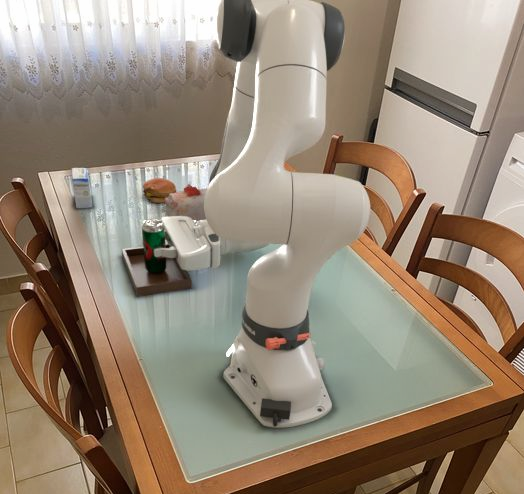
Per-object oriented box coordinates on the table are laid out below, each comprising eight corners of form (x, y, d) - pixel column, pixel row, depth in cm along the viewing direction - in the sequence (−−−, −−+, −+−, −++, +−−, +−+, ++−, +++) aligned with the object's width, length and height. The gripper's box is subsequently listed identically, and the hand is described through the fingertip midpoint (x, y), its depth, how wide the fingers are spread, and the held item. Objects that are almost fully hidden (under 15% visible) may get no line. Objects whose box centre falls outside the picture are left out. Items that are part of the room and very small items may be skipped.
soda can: (162, 276, 125) (159, 230, 117) (141, 272, 125) (137, 226, 118) (169, 265, 129) (167, 220, 121) (149, 261, 129) (146, 216, 121)
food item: (173, 230, 144) (172, 196, 138) (164, 217, 149) (162, 184, 143) (220, 223, 149) (221, 189, 143) (209, 211, 155) (209, 178, 148)
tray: (191, 288, 123) (191, 279, 122) (137, 296, 119) (136, 287, 118) (172, 251, 135) (171, 242, 134) (122, 257, 131) (121, 249, 130)
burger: (178, 191, 163) (178, 176, 160) (173, 204, 156) (173, 189, 153) (146, 189, 163) (145, 174, 160) (140, 202, 156) (138, 186, 153)
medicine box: (75, 197, 155) (70, 167, 149) (91, 196, 156) (87, 167, 151) (76, 208, 149) (71, 179, 144) (92, 207, 151) (88, 178, 145)
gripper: (195, 207, 132) (139, 212, 128) (221, 247, 118) (160, 255, 113) (195, 230, 136) (141, 236, 132) (221, 271, 122) (161, 280, 117)
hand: (150, 245), depth 122 cm, fingers closed on soda can, 5 cm apart
